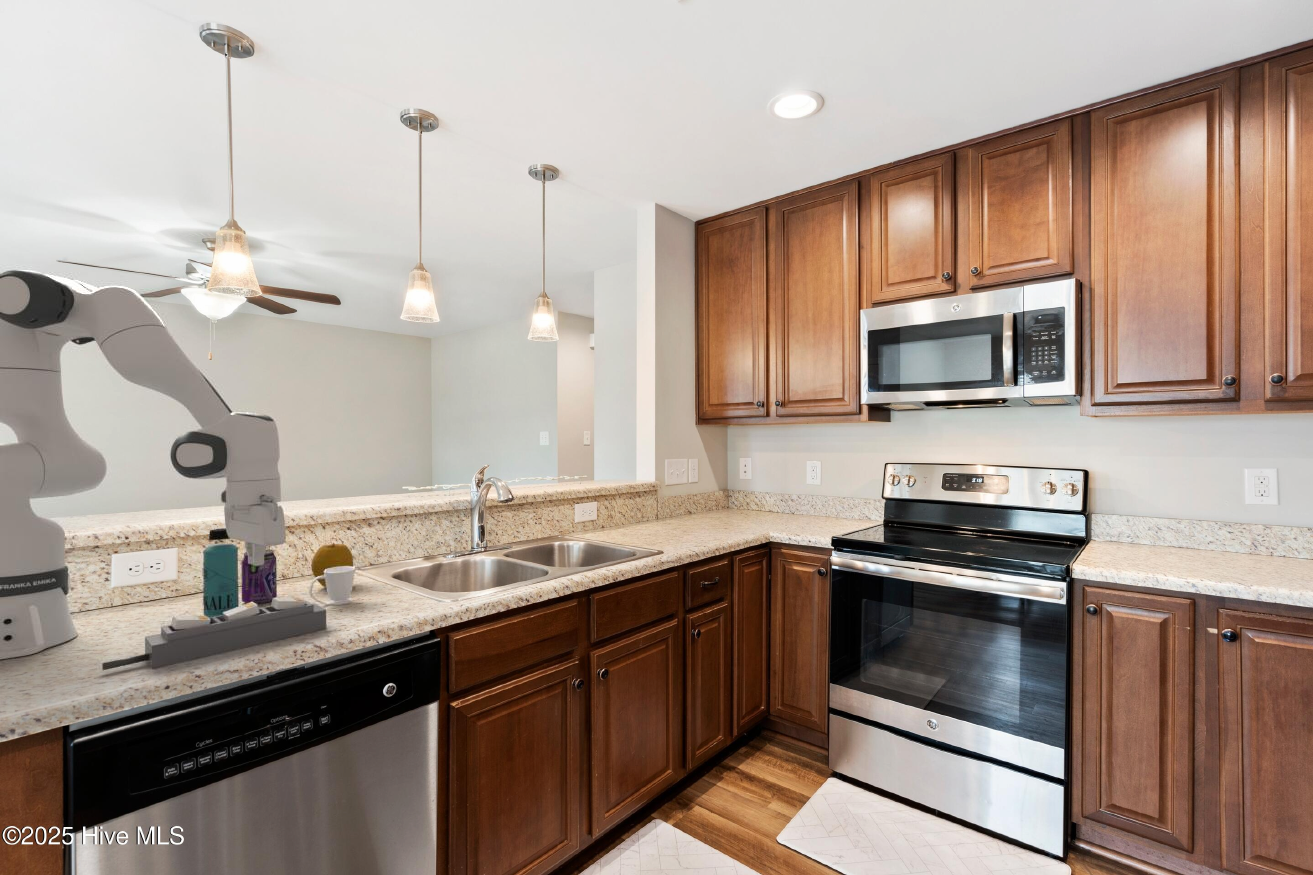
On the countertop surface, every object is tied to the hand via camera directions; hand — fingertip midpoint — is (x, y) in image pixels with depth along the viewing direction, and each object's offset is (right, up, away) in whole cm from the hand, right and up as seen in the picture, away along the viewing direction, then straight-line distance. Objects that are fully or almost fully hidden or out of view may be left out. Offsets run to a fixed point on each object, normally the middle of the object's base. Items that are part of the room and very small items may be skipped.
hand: (256, 564), depth 118 cm
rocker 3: (+4, -9, +4) cm, 11 cm away
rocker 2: (-2, -9, -2) cm, 10 cm away
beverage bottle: (-16, -15, +13) cm, 25 cm away
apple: (-7, -15, +41) cm, 44 cm away
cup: (+2, -15, +25) cm, 29 cm away
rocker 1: (-7, -9, -8) cm, 14 cm away
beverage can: (-17, -15, +27) cm, 36 cm away
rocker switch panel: (-4, -15, -4) cm, 16 cm away
